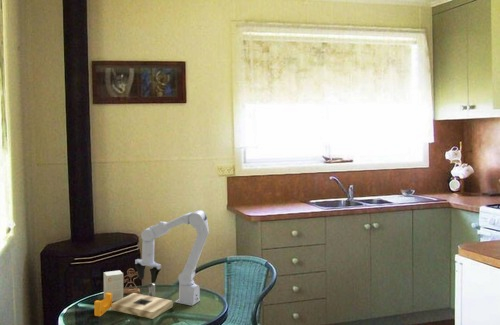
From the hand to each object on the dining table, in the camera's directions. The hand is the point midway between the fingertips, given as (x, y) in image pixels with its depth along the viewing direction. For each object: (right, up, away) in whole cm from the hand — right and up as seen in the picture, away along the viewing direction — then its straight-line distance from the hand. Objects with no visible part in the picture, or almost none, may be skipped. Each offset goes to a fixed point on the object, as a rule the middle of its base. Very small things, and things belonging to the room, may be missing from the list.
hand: (147, 280), depth 245 cm
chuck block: (0, -10, -12) cm, 15 cm away
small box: (-16, -9, -1) cm, 18 cm away
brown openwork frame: (-10, -8, +9) cm, 16 cm away
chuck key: (+2, -9, +2) cm, 9 cm away
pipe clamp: (-17, -10, -16) cm, 26 cm away
